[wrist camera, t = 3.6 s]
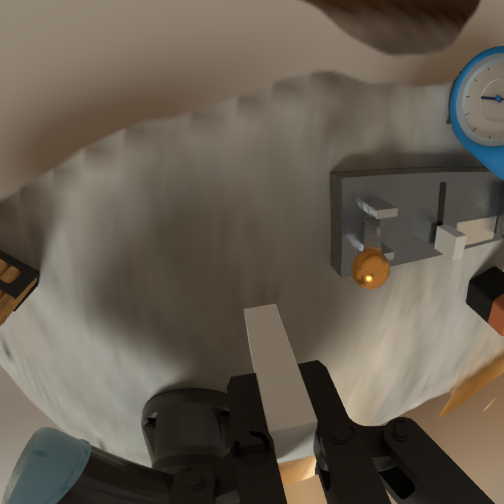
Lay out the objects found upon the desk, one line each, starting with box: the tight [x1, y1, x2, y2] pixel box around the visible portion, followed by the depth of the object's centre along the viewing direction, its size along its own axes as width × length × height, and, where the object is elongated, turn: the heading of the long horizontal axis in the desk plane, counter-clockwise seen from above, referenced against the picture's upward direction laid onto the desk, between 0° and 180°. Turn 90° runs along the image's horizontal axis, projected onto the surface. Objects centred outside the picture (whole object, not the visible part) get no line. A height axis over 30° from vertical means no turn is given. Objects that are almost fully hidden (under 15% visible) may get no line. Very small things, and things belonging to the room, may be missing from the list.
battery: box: [466, 267, 504, 336], centre depth 30 cm, size 4×7×10 cm, turn 105°
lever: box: [351, 217, 390, 289], centre depth 21 cm, size 3×3×8 cm
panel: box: [330, 167, 504, 277], centre depth 26 cm, size 37×9×5 cm, turn 96°
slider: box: [434, 224, 467, 261], centre depth 25 cm, size 2×2×3 cm
